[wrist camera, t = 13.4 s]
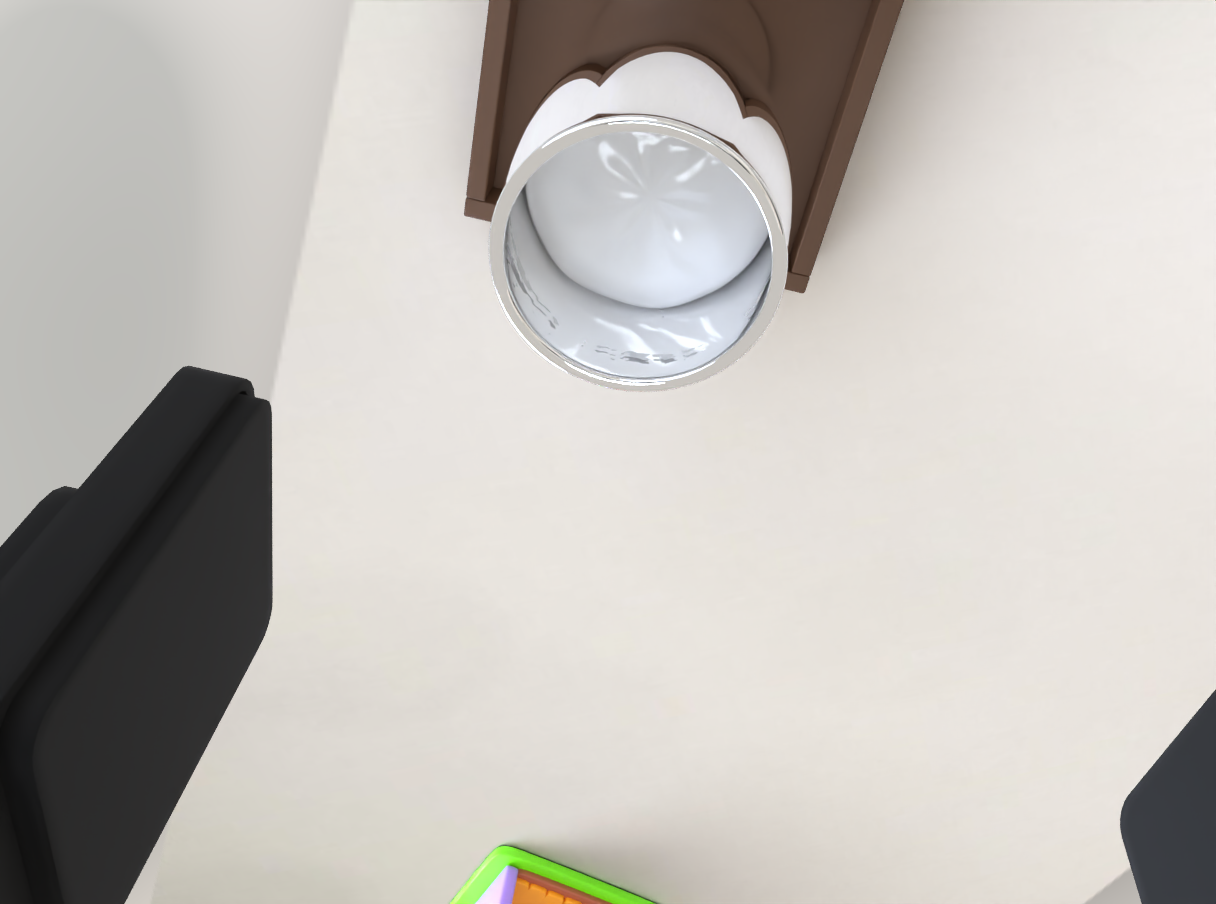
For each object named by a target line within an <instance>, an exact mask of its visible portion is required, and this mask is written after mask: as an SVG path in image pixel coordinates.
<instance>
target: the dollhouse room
mask: <svg viewBox="0 0 1216 904" xmlns="http://www.w3.org/2000/svg"><path fill="white" fill-rule="evenodd" d="M450 904H655V903H653V902H651V901H648V900H646V899H643V898H641V897H638V896H636V895H634V894H631V893H629V892H626V891H624V890H621V889H619V888H616V887H614V886H611V885H609V884H606V883H604V882H601V881H599V880H596V879H594V878H591V877H589V876H586V875H584V874H581V873H579V872H576V871H574V870H571V869H569V868H566V867H564V866H561V865H558V864H556V863H553V862H551V861H548V860H546V859H543V858H541V857H538V856H535V855H533V854H530V853H528V852H525V851H522V850H519V849H516V848H513V847H509V846H501V847H498V848H497V849H495V850H494V851H493V852H492V853H491V854H490V855H489V856H488V857H487V858H486V860H485V861H484V862H483V863H482V864H481V866H480V867H479V868H478V869H477V871H476V872H475V873H474V874H473V875H472V877H471V878H470V879H469V880H468V882H467V883H466V884H465V885H464V887H463V888H462V889H461V890H460V892H459V893H458V894H457V895H456V897H455V898H454V899H453V901H452V902H451V903H450Z"/></svg>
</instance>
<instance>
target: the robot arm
mask: <svg viewBox="0 0 1216 904" xmlns="http://www.w3.org/2000/svg"><path fill="white" fill-rule="evenodd" d="M271 611H272V412H271V405H270V403H269V401H267V400H264V399H260V398H256V397H255V396H254V388H253V386H252V383H251V382H250V381H249V380H247V379H244V378H240V377H235V376H231V375H227V374H222V373H218V372H214V371H209V370H205V369H201V368H196V367H192V366H187V367H183V368H182V369H180V370H179V371H178V372H177V373H176V374H175V375H174V376H173V378H172V379H171V380H170V381H169V382H168V383H167V385H166V386H165V387H164V388H163V389H162V391H161V392H160V393H159V394H158V395H157V396H156V398H155V399H154V400H153V401H152V402H151V404H150V405H149V406H148V407H147V408H146V409H145V411H144V412H143V413H142V414H141V415H140V417H139V418H138V419H137V420H136V421H135V422H134V424H133V425H132V426H131V427H130V428H129V430H128V431H127V432H126V433H125V434H124V436H123V437H122V438H121V439H120V440H119V441H118V443H117V444H116V445H115V446H114V447H113V449H112V450H111V451H110V452H109V453H108V454H107V456H106V457H105V458H104V459H103V460H102V461H101V463H100V464H99V465H98V466H97V468H96V469H95V470H94V471H93V472H92V473H91V474H90V476H89V477H88V478H87V479H86V480H85V482H84V483H83V484H82V485H81V486H80V487H79V489H76V488H71V487H67V486H64V487H61V488H59V489H56V490H53V491H52V492H51V493H50V494H49V495H47V496H46V497H45V498H44V499H43V500H42V501H41V502H39V504H38V505H37V506H36V507H35V508H34V509H33V510H32V512H31V513H30V514H29V515H28V516H27V517H26V518H25V519H24V521H23V522H22V523H21V524H20V525H19V526H18V527H17V529H16V530H15V531H14V532H13V533H12V534H11V536H10V537H9V538H8V539H7V540H6V541H5V542H4V543H3V545H2V546H1V547H0V904H124V903H125V901H126V899H127V898H128V896H129V894H130V892H131V890H132V888H133V886H134V884H135V882H136V880H137V878H138V877H139V875H140V873H141V871H142V869H143V867H144V865H145V863H146V861H147V859H148V858H149V856H150V853H151V852H152V850H153V848H154V846H155V844H156V842H157V840H158V839H159V837H160V835H161V833H162V831H163V829H164V827H165V825H166V823H167V821H168V819H169V818H170V816H171V814H172V812H173V810H174V808H175V806H176V804H177V802H178V800H179V799H180V797H181V795H182V793H183V791H184V789H185V787H186V785H187V783H188V781H189V779H190V778H191V776H192V774H193V772H194V770H195V768H196V766H197V764H198V762H199V760H200V758H201V757H202V755H203V753H204V751H205V749H206V747H207V745H208V743H209V741H210V739H211V738H212V736H213V734H214V732H215V730H216V728H217V726H218V724H219V722H220V720H221V718H222V717H223V715H224V713H225V711H226V709H227V707H228V705H229V703H230V701H231V699H232V698H233V696H234V694H235V692H236V690H237V688H238V686H239V684H240V682H241V680H242V678H243V677H244V675H245V673H246V671H247V669H248V667H249V665H250V663H251V661H252V659H253V658H254V656H255V654H256V652H257V650H258V648H259V646H260V644H261V642H262V640H263V638H264V636H265V633H266V630H267V627H268V624H269V620H270V616H271ZM1120 829H1121V834H1122V839H1123V842H1124V845H1125V849H1126V852H1127V856H1128V859H1129V862H1130V866H1131V869H1132V872H1133V876H1134V879H1135V882H1136V885H1137V889H1138V892H1139V896H1140V899H1141V902H1142V904H1216V690H1215V691H1214V692H1213V693H1212V695H1211V696H1210V697H1209V698H1208V699H1207V701H1206V702H1205V703H1204V704H1203V705H1202V707H1201V708H1200V709H1199V710H1198V712H1197V713H1196V714H1195V715H1194V716H1193V718H1192V719H1191V720H1190V721H1189V722H1188V724H1187V725H1186V726H1185V727H1184V728H1183V730H1182V731H1181V732H1180V733H1179V735H1178V736H1177V737H1176V738H1175V739H1174V741H1173V742H1172V743H1171V744H1170V745H1169V747H1168V748H1167V749H1166V750H1165V751H1164V753H1163V754H1162V755H1161V756H1160V758H1159V759H1158V760H1157V761H1156V762H1155V764H1154V765H1153V766H1152V767H1151V768H1150V770H1149V771H1148V772H1147V773H1146V775H1145V776H1144V777H1143V778H1142V779H1141V781H1140V782H1139V783H1138V784H1137V785H1136V787H1135V788H1134V789H1133V790H1132V791H1131V793H1130V794H1129V795H1128V797H1127V798H1126V800H1125V802H1124V805H1123V808H1122V811H1121V818H1120Z"/></svg>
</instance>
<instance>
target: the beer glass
mask: <svg viewBox="0 0 1216 904" xmlns="http://www.w3.org/2000/svg"><path fill="white" fill-rule="evenodd" d="M770 72H771V54H770V47H769V42H768V39H767V35H766V32H765V29H764V27H763V25H762V23H761V21H760V19H759V17H758V15H757V14H756V12H755V10H754V9H753V8H752V6H751V5H750V4H749V3H748V2H747V0H612V1H611V2H610V3H609V4H608V5H607V7H606V8H605V9H604V11H603V12H602V14H601V15H600V17H599V19H598V20H597V22H596V24H595V27H594V29H593V31H592V34H591V37H590V40H589V44H588V49H587V52H586V53H584V54H583V55H582V56H581V57H580V58H578V59H577V60H576V61H575V62H574V63H573V64H572V65H570V66H569V67H568V68H567V69H566V70H565V71H564V72H563V73H562V74H561V75H560V76H559V77H558V78H557V79H556V80H555V81H554V82H553V84H552V85H551V86H550V87H549V89H548V90H547V92H546V93H545V94H544V96H543V97H542V99H541V101H540V102H539V104H538V105H537V107H536V108H535V110H534V111H533V113H532V115H531V116H530V118H529V120H528V122H527V124H526V126H525V128H524V130H523V132H522V135H521V137H520V139H519V142H518V144H517V146H516V149H515V151H514V154H513V157H512V159H511V163H510V166H509V169H508V172H507V175H506V178H505V182H504V186H503V190H502V192H501V195H500V197H499V199H498V201H497V204H496V207H495V210H494V213H493V217H492V221H491V226H490V233H489V264H490V270H491V276H492V280H493V284H494V287H495V290H496V293H497V296H498V298H499V301H500V303H501V305H502V307H503V309H504V311H505V313H506V315H507V316H508V318H509V320H510V321H511V323H512V324H513V326H514V327H515V328H516V330H517V331H518V332H519V334H520V335H521V336H522V337H523V338H524V340H525V341H526V342H527V343H528V344H529V345H530V346H531V347H532V348H533V349H534V350H535V351H537V352H538V353H539V354H540V355H541V356H543V357H544V358H545V359H546V360H548V361H549V362H550V363H552V364H553V365H555V366H556V367H558V368H560V369H561V370H563V371H565V372H567V373H569V374H570V375H572V376H575V377H577V378H579V379H581V380H584V381H586V382H589V383H592V384H595V385H599V386H602V387H606V388H611V389H616V390H623V391H632V392H655V391H665V390H672V389H677V388H681V387H685V386H689V385H692V384H695V383H698V382H700V381H703V380H705V379H707V378H710V377H712V376H714V375H716V374H718V373H719V372H721V371H723V370H724V369H726V368H728V367H729V366H731V365H732V364H733V363H735V362H736V361H737V360H739V359H740V358H741V357H742V356H743V355H745V354H746V353H747V352H748V351H749V350H750V349H751V348H752V347H753V346H754V345H755V343H756V342H757V341H758V340H759V339H760V337H761V336H762V335H763V333H764V332H765V331H766V329H767V328H768V326H769V324H770V323H771V321H772V319H773V317H774V315H775V313H776V311H777V309H778V306H779V304H780V301H781V298H782V295H783V292H784V288H785V283H786V277H787V268H788V249H789V242H790V234H791V226H792V217H793V173H792V165H791V159H790V153H789V146H788V141H787V137H786V133H785V129H784V126H783V123H782V121H781V118H780V116H779V114H778V112H777V109H776V107H775V105H774V103H773V101H772V99H771V96H770V95H769V93H768V91H767V89H768V85H769V80H770Z"/></svg>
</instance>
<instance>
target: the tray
mask: <svg viewBox="0 0 1216 904" xmlns="http://www.w3.org/2000/svg"><path fill="white" fill-rule="evenodd" d="M611 1H612V0H489V7H488V16H487V24H486V33H485V41H484V50H483V58H482V67H481V75H480V84H479V92H478V100H477V109H476V117H475V126H474V134H473V143H472V151H471V160H470V168H469V177H468V185H467V194H466V195H467V198H466V202H465V210H464V215H465V216H468V217H472V218H476V219H481V220H485V221H489V222H491V221H492V217H493V213H494V210H495V207H496V204H497V201H498V199H499V197H500V195H501V192H502V190H503V186H504V182H505V178H506V175H507V172H508V169H509V166H510V163H511V159H512V157H513V154H514V151H515V149H516V146H517V144H518V142H519V139H520V137H521V135H522V132H523V130H524V128H525V126H526V124H527V122H528V120H529V118H530V116H531V115H532V113H533V111H534V110H535V108H536V107H537V105H538V104H539V102H540V101H541V99H542V97H543V96H544V94H545V93H546V92H547V90H548V89H549V87H550V86H551V85H552V84H553V82H554V81H555V80H556V79H557V78H558V77H559V76H560V75H561V74H562V73H563V72H564V71H565V70H566V69H567V68H568V67H569V66H570V65H572V64H573V63H574V62H575V61H576V60H577V59H578V58H580V57H581V56H582V55H583V54H584V53H586V52H587V49H588V44H589V40H590V37H591V34H592V31H593V29H594V27H595V24H596V22H597V20H598V19H599V17H600V15H601V14H602V12H603V11H604V9H605V8H606V7H607V5H608V4H609V3H610V2H611ZM747 2H748V3H749V4H750V5H751V6H752V8H753V9H754V10H755V12H756V14H757V15H758V17H759V19H760V21H761V23H762V25H763V27H764V29H765V32H766V35H767V39H768V42H769V47H770V54H771V72H770V80H769V85H768V89H767V91H768V93H769V95H770V96H771V99H772V101H773V103H774V105H775V107H776V109H777V112H778V114H779V116H780V118H781V121H782V123H783V126H784V129H785V133H786V137H787V141H788V146H789V153H790V159H791V165H792V173H793V217H792V226H791V234H790V242H789V249H788V268H787V277H786V283H785V288H784V289H786V290H791V291H795V292H799V293H804V292H805V290H806V287H807V284H808V281H809V276H810V275H811V272H812V269H813V266H814V263H815V260H816V257H817V255H818V252H819V249H820V246H821V243H822V240H823V237H824V234H825V231H826V228H827V225H828V222H829V219H830V216H831V213H832V210H833V207H834V205H835V202H836V199H837V196H838V193H839V190H840V187H841V184H842V181H843V178H844V175H845V172H846V169H847V166H848V163H849V160H850V157H851V155H852V152H853V149H854V146H855V143H856V140H857V137H858V134H859V131H860V128H861V125H862V122H863V119H864V116H865V113H866V110H867V107H868V105H869V102H870V99H871V96H872V93H873V90H874V87H875V84H876V81H877V78H878V75H879V72H880V69H881V66H882V63H883V60H884V58H885V55H886V52H887V49H888V46H889V43H890V40H891V37H892V34H893V31H894V28H895V25H896V22H897V19H898V16H899V13H900V10H901V8H902V5H903V2H904V0H747Z"/></svg>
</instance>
